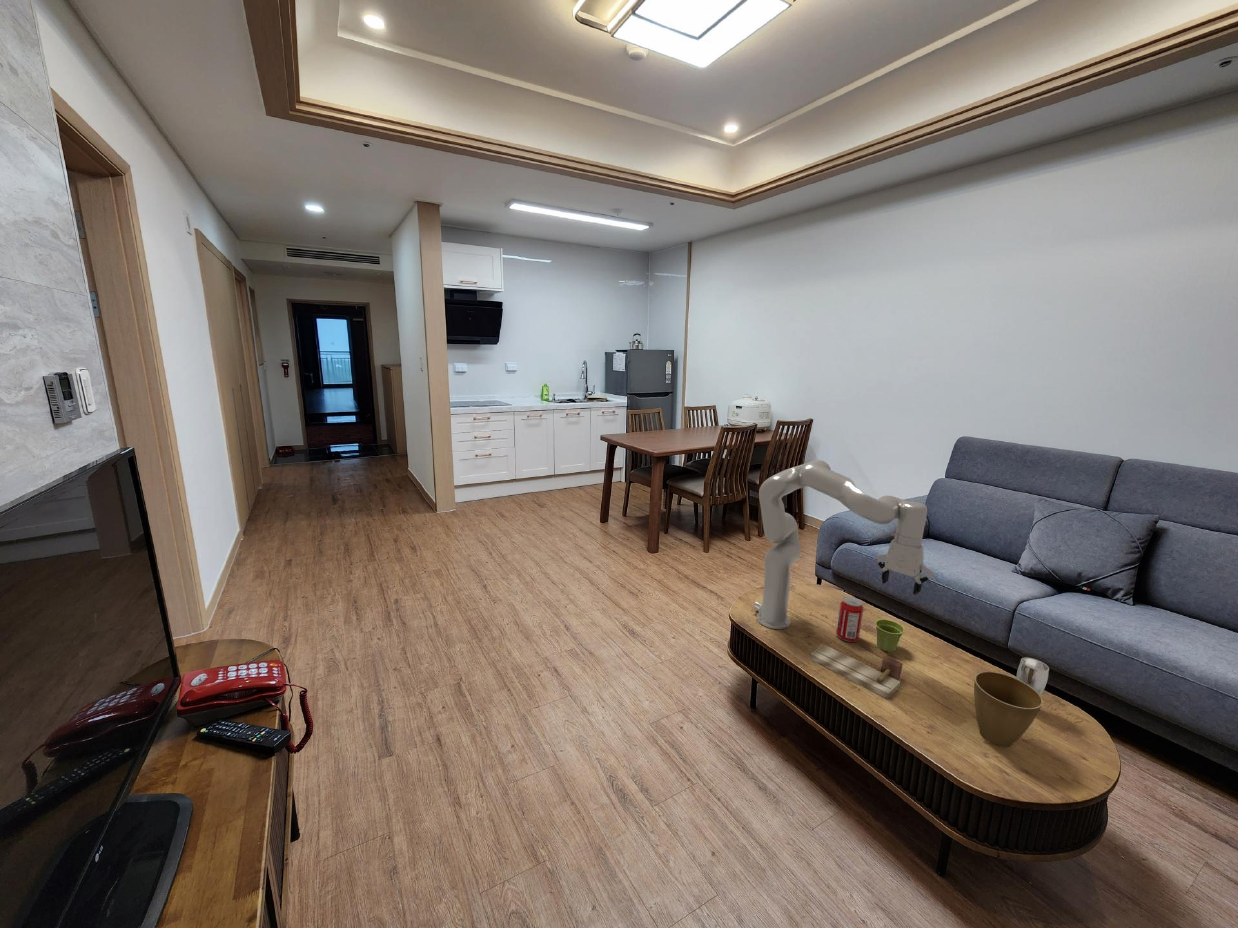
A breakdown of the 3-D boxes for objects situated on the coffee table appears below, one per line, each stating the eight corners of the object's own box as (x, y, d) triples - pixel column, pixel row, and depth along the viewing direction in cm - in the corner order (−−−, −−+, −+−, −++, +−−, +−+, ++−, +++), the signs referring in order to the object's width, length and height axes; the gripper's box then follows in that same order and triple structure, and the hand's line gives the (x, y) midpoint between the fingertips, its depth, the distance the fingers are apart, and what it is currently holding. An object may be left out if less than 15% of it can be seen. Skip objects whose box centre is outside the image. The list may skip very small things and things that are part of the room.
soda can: (847, 645, 181) (853, 608, 178) (831, 633, 188) (836, 597, 185) (863, 641, 184) (869, 604, 181) (846, 629, 191) (852, 594, 188)
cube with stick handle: (869, 684, 160) (872, 668, 159) (884, 671, 167) (886, 655, 166) (885, 693, 157) (888, 676, 155) (900, 678, 164) (902, 662, 162)
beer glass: (1004, 702, 154) (1014, 659, 150) (1019, 697, 156) (1029, 655, 153) (1029, 717, 147) (1040, 673, 144) (1044, 712, 150) (1055, 668, 146)
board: (809, 658, 173) (810, 653, 172) (822, 649, 179) (823, 643, 178) (887, 699, 154) (888, 693, 153) (899, 686, 159) (900, 681, 159)
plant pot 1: (906, 652, 178) (910, 630, 176) (887, 657, 175) (891, 635, 173) (884, 638, 187) (888, 617, 185) (865, 642, 183) (869, 621, 181)
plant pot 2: (952, 727, 143) (962, 678, 139) (984, 713, 149) (995, 666, 145) (1009, 766, 130) (1022, 714, 126) (1042, 749, 136) (1055, 698, 132)
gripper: (875, 534, 165) (868, 581, 169) (933, 550, 153) (924, 601, 157) (885, 529, 170) (878, 575, 174) (942, 545, 157) (933, 594, 161)
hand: (900, 587), depth 165 cm, fingers open, 9 cm apart
